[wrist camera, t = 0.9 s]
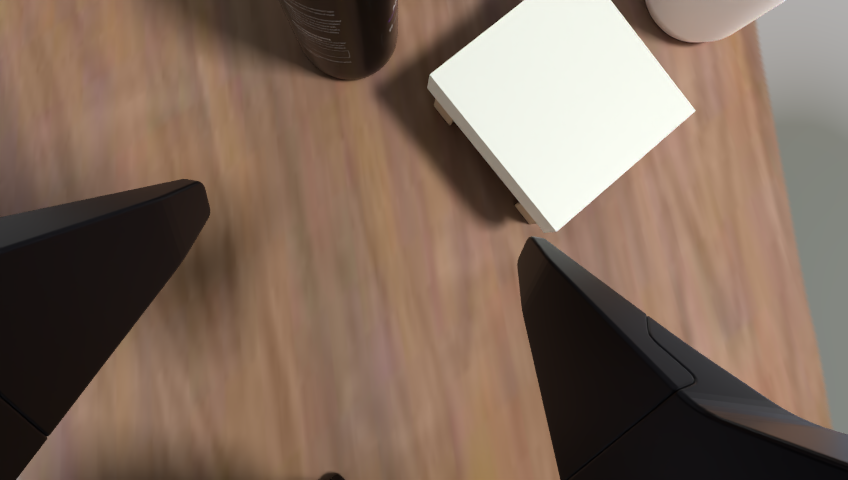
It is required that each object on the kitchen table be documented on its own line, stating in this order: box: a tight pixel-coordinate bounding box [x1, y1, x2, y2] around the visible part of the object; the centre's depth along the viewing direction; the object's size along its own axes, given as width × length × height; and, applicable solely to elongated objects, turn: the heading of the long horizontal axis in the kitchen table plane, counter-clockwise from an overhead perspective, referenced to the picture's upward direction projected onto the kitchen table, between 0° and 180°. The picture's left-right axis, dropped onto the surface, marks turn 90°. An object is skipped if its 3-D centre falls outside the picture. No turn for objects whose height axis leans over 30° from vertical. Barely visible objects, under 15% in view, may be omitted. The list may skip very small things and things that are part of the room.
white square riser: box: [427, 0, 695, 233], centre depth 21 cm, size 12×12×4 cm
